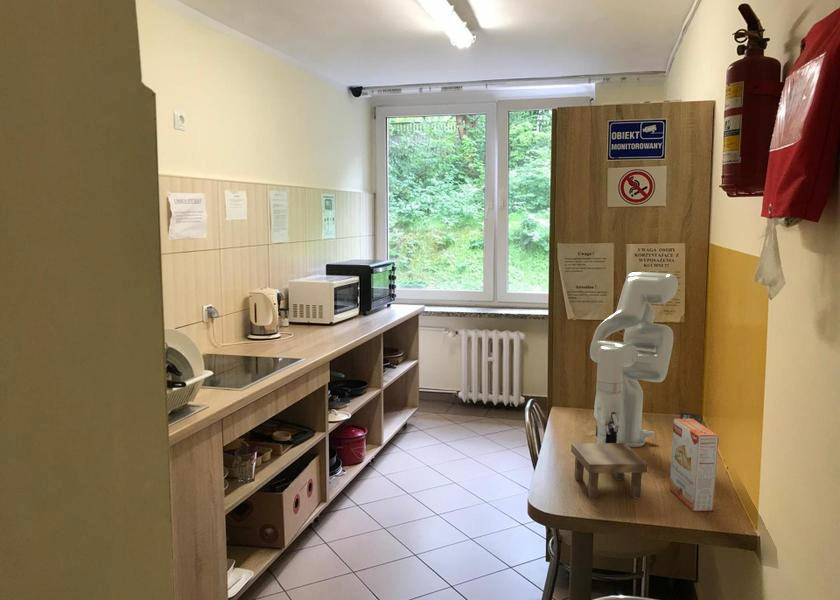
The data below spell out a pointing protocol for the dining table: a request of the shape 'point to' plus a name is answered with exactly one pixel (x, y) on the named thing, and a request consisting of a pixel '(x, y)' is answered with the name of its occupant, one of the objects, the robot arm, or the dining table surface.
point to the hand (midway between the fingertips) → (605, 441)
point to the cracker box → (694, 464)
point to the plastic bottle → (602, 430)
